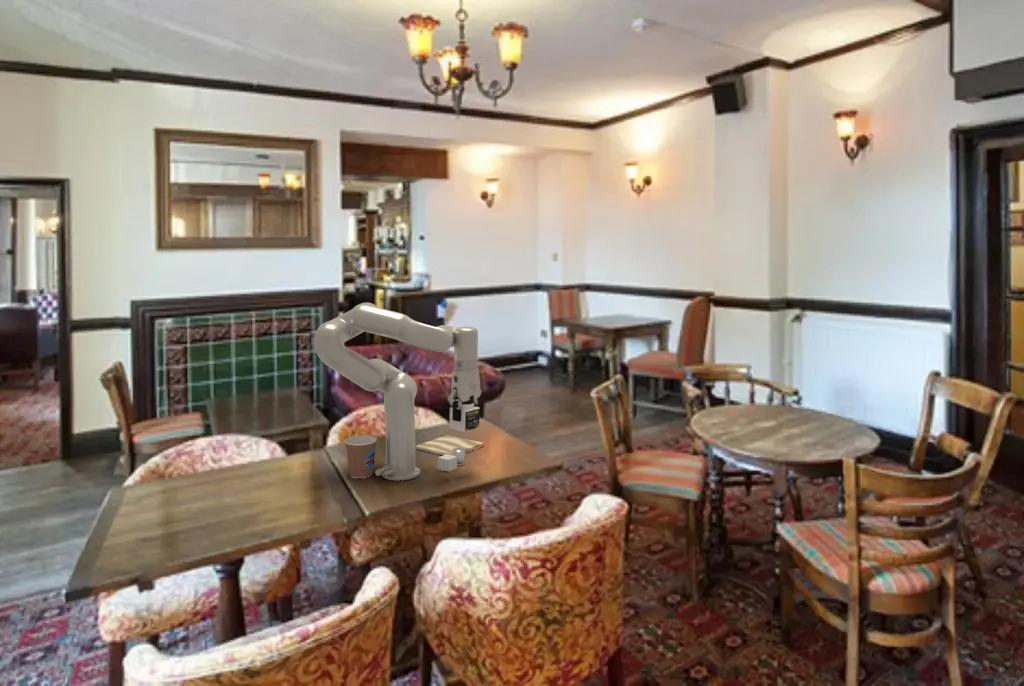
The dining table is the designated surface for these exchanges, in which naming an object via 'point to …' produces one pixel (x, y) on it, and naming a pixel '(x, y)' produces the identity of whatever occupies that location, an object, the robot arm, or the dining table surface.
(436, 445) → the birch board
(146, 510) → the dining table surface
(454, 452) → the metal canister
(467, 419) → the medicine bottle
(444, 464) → the white cube
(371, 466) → the coffee cup
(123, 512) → the dining table surface
